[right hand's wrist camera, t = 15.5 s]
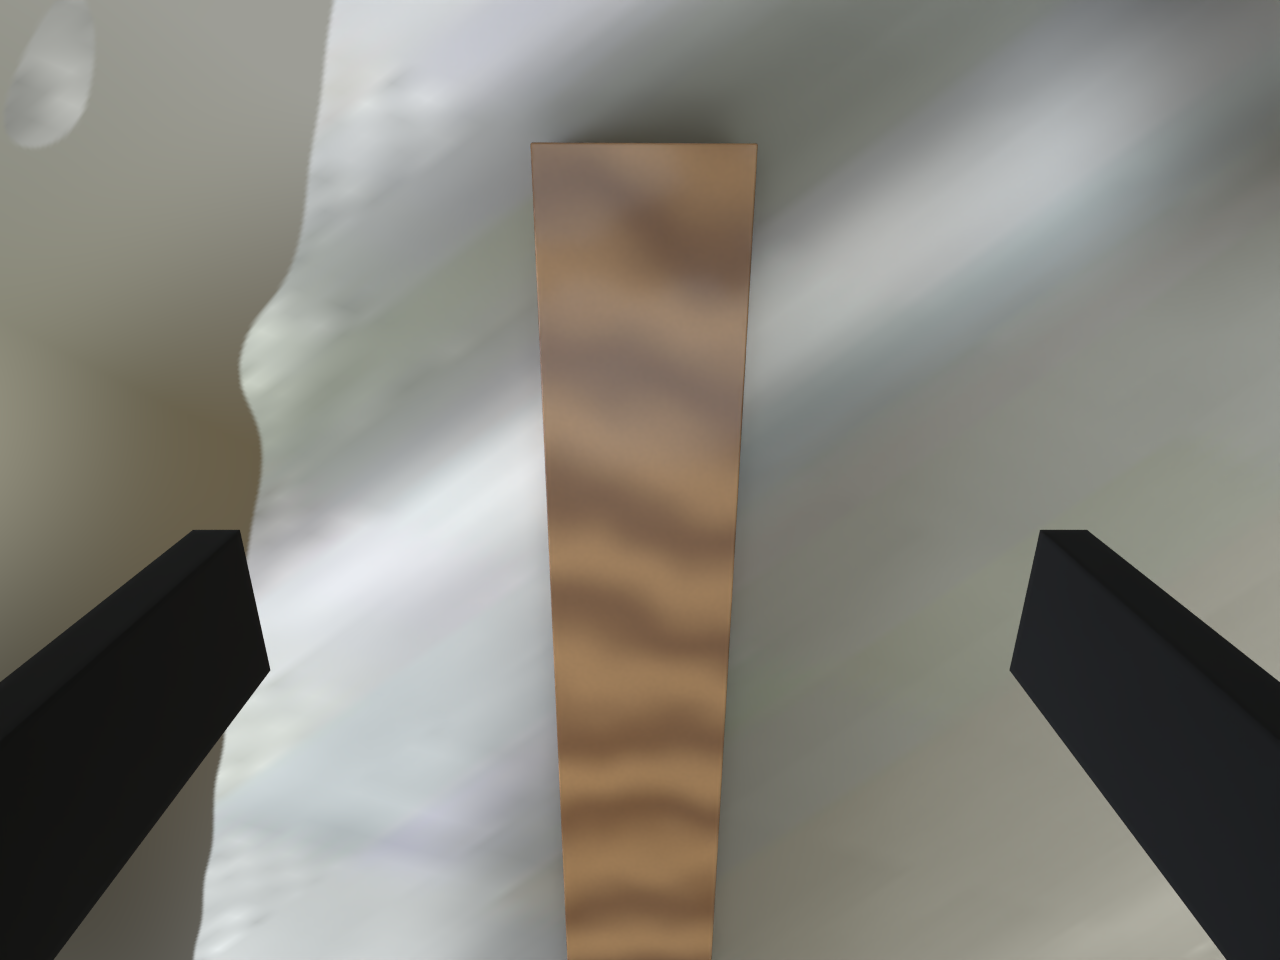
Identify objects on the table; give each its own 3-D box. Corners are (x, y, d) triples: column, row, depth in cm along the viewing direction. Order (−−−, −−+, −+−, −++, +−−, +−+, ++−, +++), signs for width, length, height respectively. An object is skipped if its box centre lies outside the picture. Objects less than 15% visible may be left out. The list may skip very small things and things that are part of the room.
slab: (549, 148, 36) (530, 142, 30) (736, 149, 36) (757, 143, 30) (587, 1168, 67) (581, 1275, 61) (688, 1168, 67) (693, 1275, 61)
